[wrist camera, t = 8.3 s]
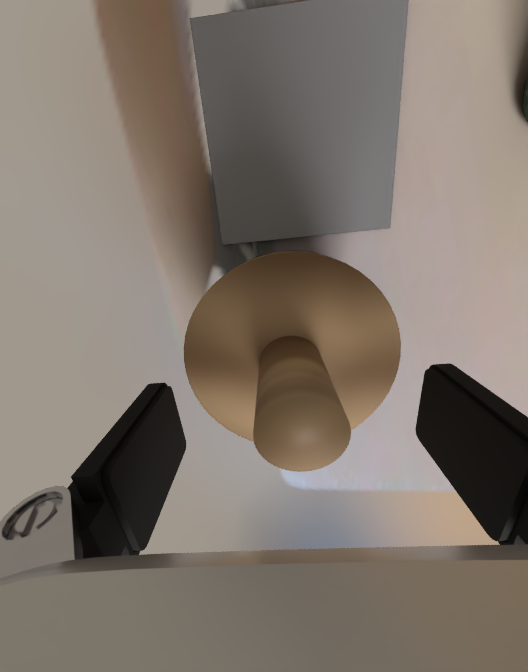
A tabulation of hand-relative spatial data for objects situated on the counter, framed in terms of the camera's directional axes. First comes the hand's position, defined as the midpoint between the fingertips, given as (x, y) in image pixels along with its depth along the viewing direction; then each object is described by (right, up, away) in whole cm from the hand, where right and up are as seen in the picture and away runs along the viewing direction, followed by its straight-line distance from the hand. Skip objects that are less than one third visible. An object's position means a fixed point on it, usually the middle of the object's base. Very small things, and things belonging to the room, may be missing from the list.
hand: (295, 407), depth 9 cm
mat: (+1, +16, +7) cm, 17 cm away
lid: (0, +2, +4) cm, 5 cm away
